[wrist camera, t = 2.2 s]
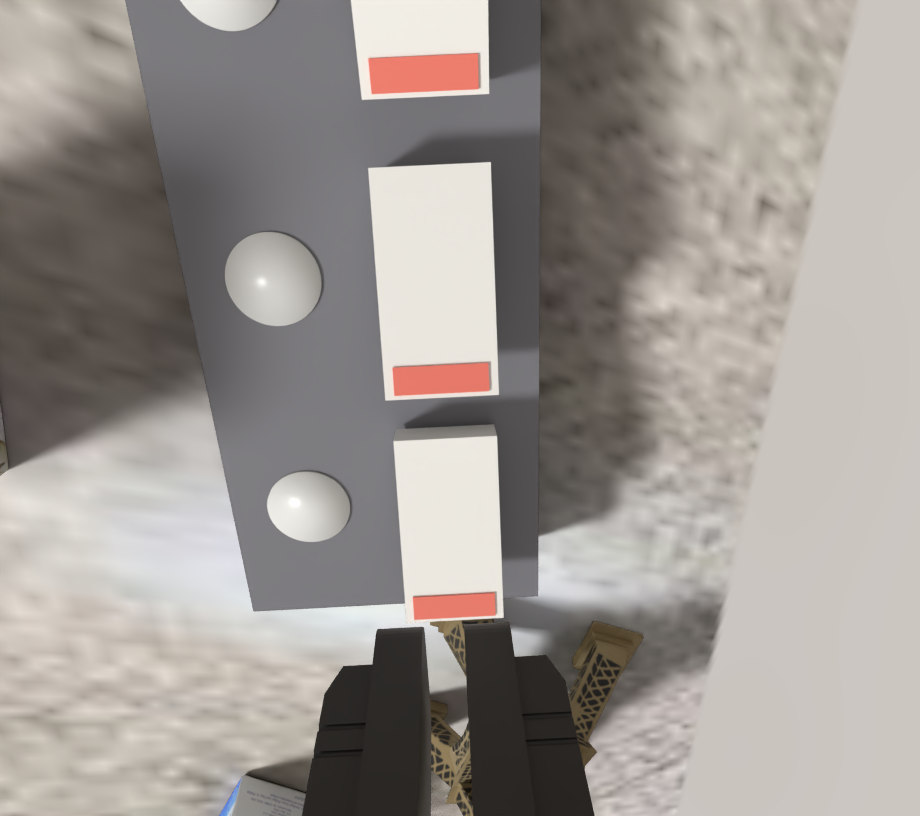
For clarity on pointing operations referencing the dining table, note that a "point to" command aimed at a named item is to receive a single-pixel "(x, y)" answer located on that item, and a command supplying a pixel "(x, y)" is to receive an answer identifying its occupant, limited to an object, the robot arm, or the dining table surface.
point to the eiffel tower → (588, 696)
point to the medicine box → (263, 799)
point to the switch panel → (333, 277)
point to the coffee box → (2, 448)
